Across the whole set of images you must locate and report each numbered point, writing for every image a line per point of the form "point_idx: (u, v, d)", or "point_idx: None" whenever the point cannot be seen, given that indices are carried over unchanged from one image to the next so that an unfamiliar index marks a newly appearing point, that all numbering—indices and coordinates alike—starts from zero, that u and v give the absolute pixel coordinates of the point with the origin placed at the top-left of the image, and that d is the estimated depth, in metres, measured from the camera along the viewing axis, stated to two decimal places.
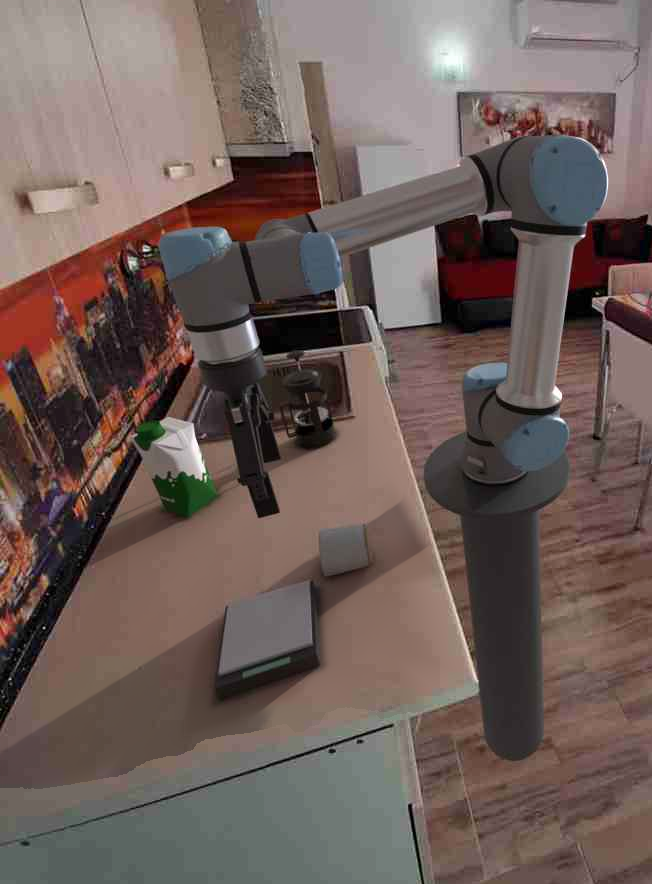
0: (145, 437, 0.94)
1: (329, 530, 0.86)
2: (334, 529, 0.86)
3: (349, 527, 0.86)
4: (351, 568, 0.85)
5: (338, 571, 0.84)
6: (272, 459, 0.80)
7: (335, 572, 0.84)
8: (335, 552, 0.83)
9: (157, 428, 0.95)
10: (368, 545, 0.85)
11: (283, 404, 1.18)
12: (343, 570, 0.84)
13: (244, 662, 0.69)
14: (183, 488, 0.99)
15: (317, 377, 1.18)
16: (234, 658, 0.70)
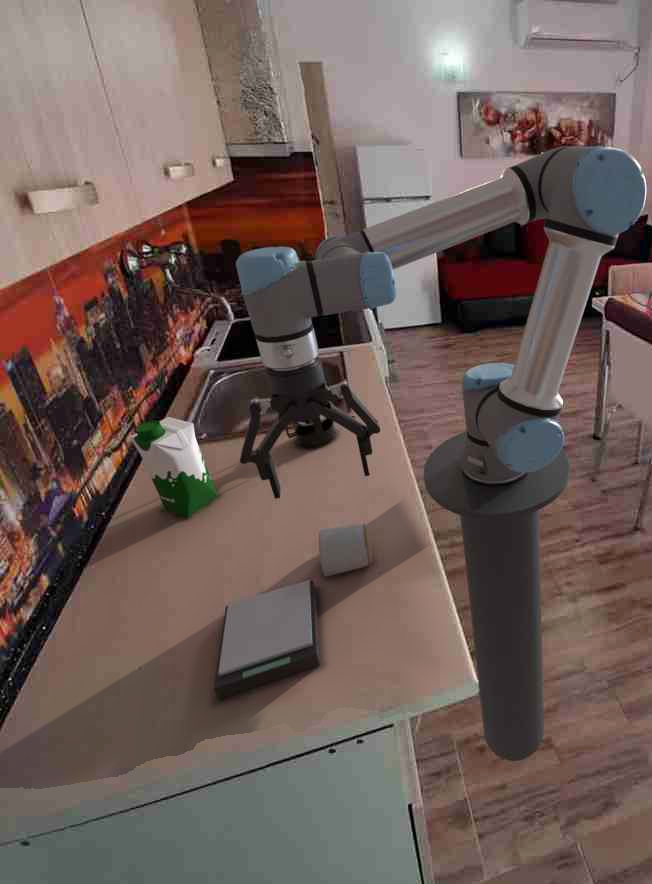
0: (145, 437, 0.94)
1: (329, 530, 0.86)
2: (334, 529, 0.86)
3: (349, 527, 0.86)
4: (351, 568, 0.85)
5: (338, 571, 0.84)
6: (279, 490, 0.79)
7: (335, 572, 0.84)
8: (335, 552, 0.83)
9: (157, 428, 0.95)
10: (368, 545, 0.85)
11: None
12: (343, 570, 0.84)
13: (244, 662, 0.69)
14: (183, 488, 0.99)
15: None
16: (234, 658, 0.70)
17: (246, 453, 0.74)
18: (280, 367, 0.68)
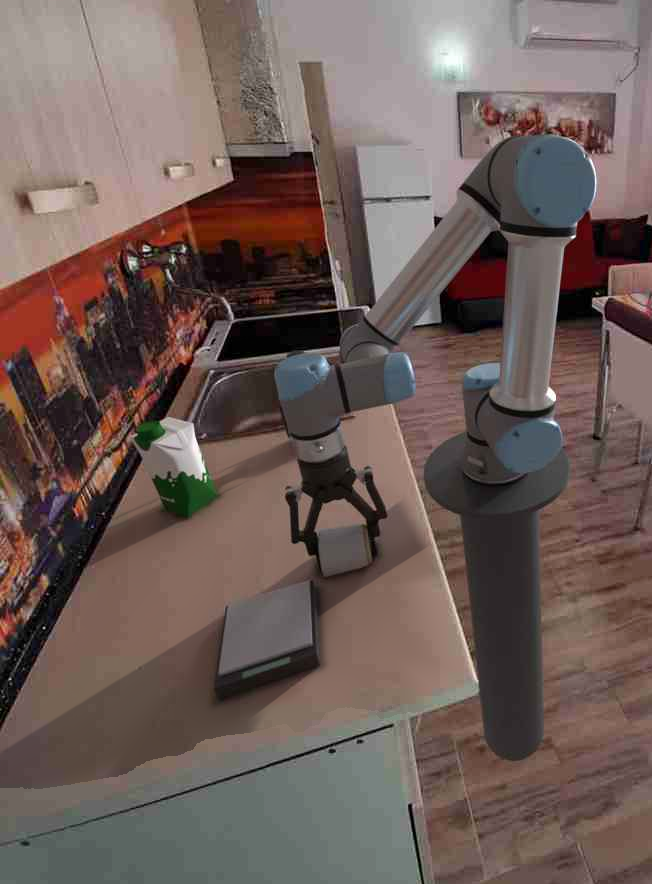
0: (145, 437, 0.94)
1: (328, 530, 0.86)
2: (333, 529, 0.86)
3: (348, 527, 0.86)
4: (350, 568, 0.85)
5: (337, 571, 0.84)
6: None
7: (334, 572, 0.84)
8: (334, 552, 0.83)
9: (157, 428, 0.95)
10: (367, 545, 0.85)
11: None
12: (342, 570, 0.84)
13: (244, 662, 0.69)
14: (183, 488, 0.99)
15: None
16: (234, 658, 0.70)
17: (294, 535, 0.82)
18: (312, 460, 0.76)
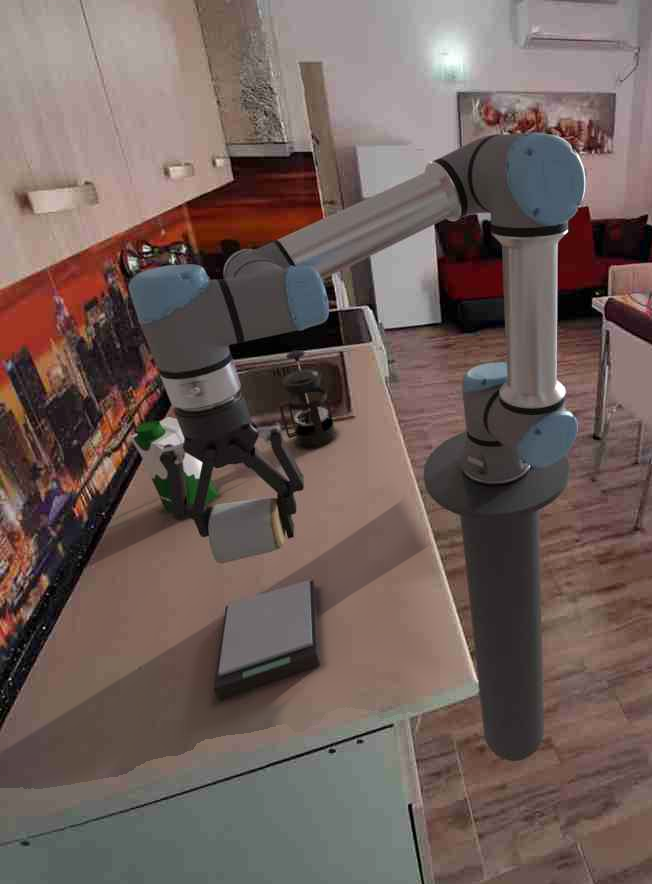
0: (145, 437, 0.94)
1: (226, 504, 0.67)
2: (233, 503, 0.67)
3: (253, 501, 0.68)
4: (253, 553, 0.66)
5: (235, 556, 0.66)
6: None
7: (231, 558, 0.66)
8: (229, 531, 0.64)
9: (157, 428, 0.95)
10: (275, 523, 0.66)
11: (283, 404, 1.18)
12: (242, 555, 0.66)
13: (244, 662, 0.69)
14: None
15: (317, 377, 1.18)
16: (234, 658, 0.70)
17: (178, 508, 0.64)
18: (188, 407, 0.57)
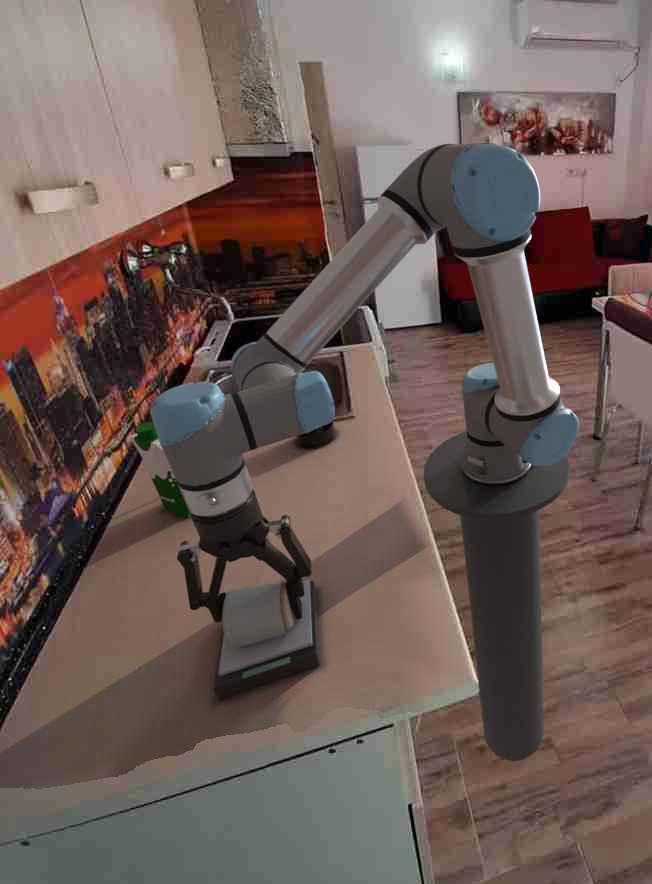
0: (145, 437, 0.94)
1: (238, 592, 0.71)
2: (245, 590, 0.71)
3: (263, 587, 0.72)
4: (264, 638, 0.70)
5: (247, 643, 0.69)
6: None
7: (244, 644, 0.69)
8: (242, 621, 0.68)
9: None
10: (284, 610, 0.70)
11: None
12: (254, 641, 0.70)
13: (244, 662, 0.69)
14: None
15: None
16: (234, 658, 0.70)
17: (193, 600, 0.68)
18: (205, 515, 0.61)
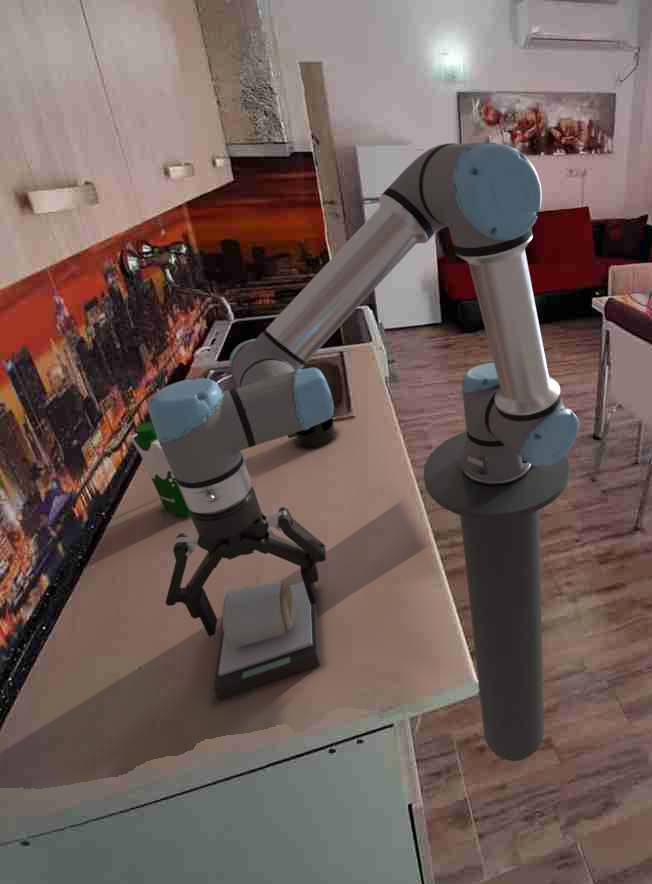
0: (145, 437, 0.94)
1: (238, 592, 0.71)
2: (245, 590, 0.71)
3: (263, 587, 0.72)
4: (264, 638, 0.70)
5: (247, 643, 0.69)
6: (215, 624, 0.72)
7: (244, 644, 0.69)
8: (242, 621, 0.68)
9: None
10: (284, 610, 0.70)
11: None
12: (254, 641, 0.70)
13: (244, 662, 0.69)
14: None
15: None
16: (234, 658, 0.70)
17: (172, 595, 0.66)
18: (203, 512, 0.61)
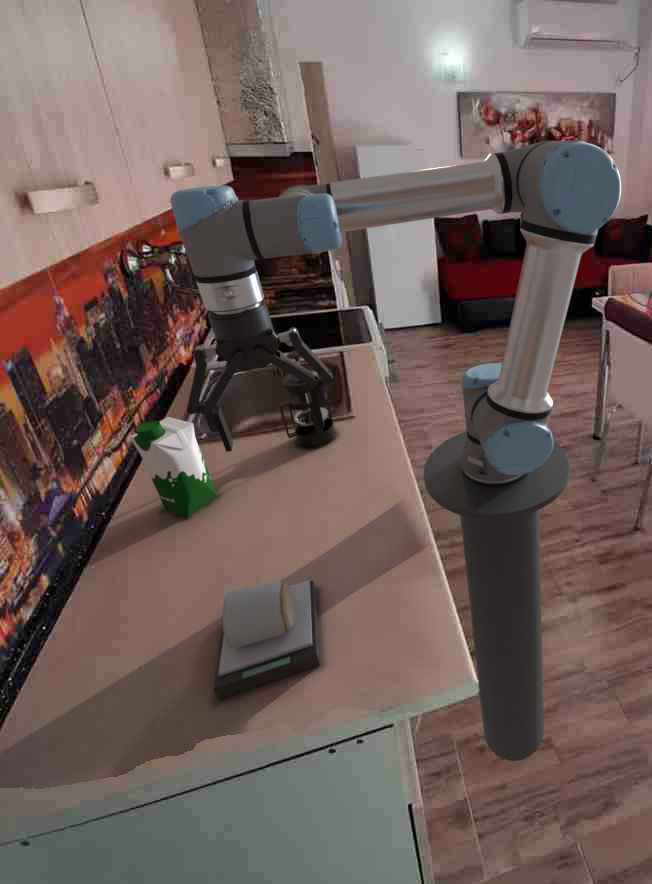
0: (145, 437, 0.94)
1: (238, 592, 0.71)
2: (245, 590, 0.71)
3: (263, 587, 0.72)
4: (264, 638, 0.70)
5: (247, 643, 0.69)
6: (231, 443, 0.78)
7: (244, 644, 0.69)
8: (242, 621, 0.68)
9: (157, 428, 0.95)
10: (284, 610, 0.70)
11: (283, 404, 1.18)
12: (254, 641, 0.70)
13: (244, 662, 0.69)
14: (183, 488, 0.99)
15: None
16: (234, 658, 0.70)
17: (192, 403, 0.72)
18: (222, 309, 0.67)
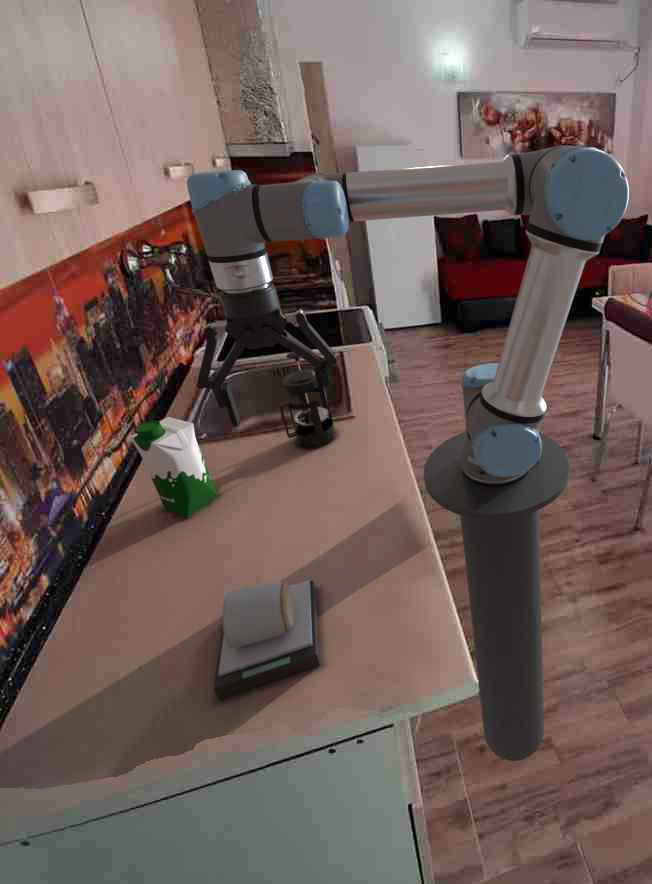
0: (145, 437, 0.94)
1: (238, 592, 0.71)
2: (245, 590, 0.71)
3: (263, 587, 0.72)
4: (264, 638, 0.70)
5: (247, 643, 0.69)
6: (238, 419, 0.81)
7: (244, 644, 0.69)
8: (242, 621, 0.68)
9: (157, 428, 0.95)
10: (284, 610, 0.70)
11: (283, 404, 1.18)
12: (254, 641, 0.70)
13: (244, 662, 0.69)
14: (183, 488, 0.99)
15: None
16: (234, 658, 0.70)
17: (202, 378, 0.75)
18: (232, 288, 0.70)
